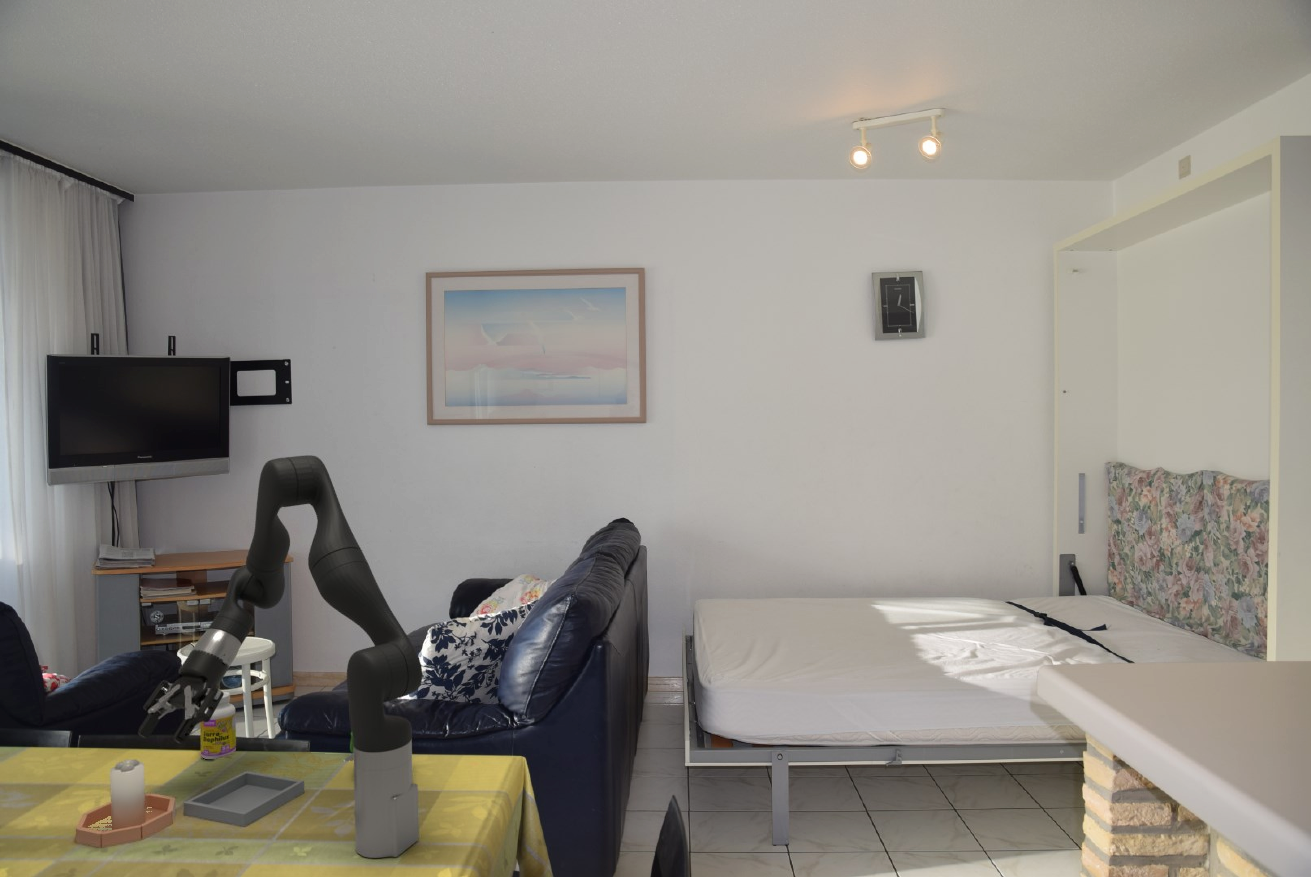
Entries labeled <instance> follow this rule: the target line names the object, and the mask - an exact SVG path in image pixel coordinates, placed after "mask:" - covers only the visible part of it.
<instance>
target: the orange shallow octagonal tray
mask: <svg viewBox="0 0 1311 877" xmlns="http://www.w3.org/2000/svg"><path fill="white" fill-rule="evenodd" d="M147 807H152V808H148V809H147ZM176 808H177V806H176V797H173V796H168V795H163V794H158V793H153V792H152V793H145V811H150V812H148V813H147V812H146V822H145V823H143V824H141V825H138V826H132V827H127V828H122V829H116V830H109V831H108V829H107V830H105V831H104V830H102V831H100V830H98V829H97V830H93V829H88V828H91V827H88V826H90V825H92V824H95V823H96V822H98V821H100V820H103V819H105V818H107V817H108V816H111V801H108V802H107V803H104V804H101V805H100V806H98V807H96V808H93V809H91V810H88V811H87V812H85V813H83V814H82V815H81V817H80V819H79V821H78V823H77V825H76V827H75V839H76V840H75V842H76V843H78V844H81V845H85V846H86V845H87V846H90V847H91V846H92V847H95V848H100V849H101V848H103V849H104V848H108V847H115V846H118V845H123V844H124V845H125V844H127V843H133V842H138V841H142V840H145V839H146V838H149V837H151V836H152V835H155V834H156V833H158V832H160V831H162V830H164V829H166V828H168V827H169V826H172V825H173V824H174V820H175V815H176ZM151 811H152V812H151ZM107 820H108V819H107ZM110 820H112V819H110ZM99 824H100V823H99ZM101 824H112V822H111V823H108V822H107V823H101ZM93 828H100V827H99V826H98V827H93ZM103 828H104V827H103ZM105 828H112V826H111V825H109V826H108V825H107V826H105Z"/></svg>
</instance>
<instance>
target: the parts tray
mask: <svg viewBox="0 0 1311 877" xmlns="http://www.w3.org/2000/svg"><path fill="white" fill-rule="evenodd" d="M304 793H305V780H300V779H295V778H291V777H289V778H288V777H284V776H277V775H274V774H273V775H271V774H265V773H262V772H261V773H260V772H253V771H249V770H246V771H244V772H242V773H240V774H238V775H235V776H234V777H232V778H230V779H228V780H226V781H223V782H221V783H220V784H217V785H216V786H214V787H212V788H210V789H208V790H206V791H204V792H201V793H200V794H198V795H196V796H194V797H192V798H190V799H188V800H186V801H184V802H183V816H188V817H192V818H196V819H200V820H201V819H202V820H206V821H212V822H217V823H222V824H227V825H232V826H236V827H242V828H246V827H248V826H250V825H251V824H253V823H254V822H257V821H258V820H259V819H261V818H263V817H265V816H267V815H268V814H270V813H272V812H273V811H275V810H276V809H279V808H281V807H282V806H284V805H285V804H287V803H288V802H290V801H292V800H294V799H296V798H297V797H299V796H301V795H302V794H304Z"/></svg>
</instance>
